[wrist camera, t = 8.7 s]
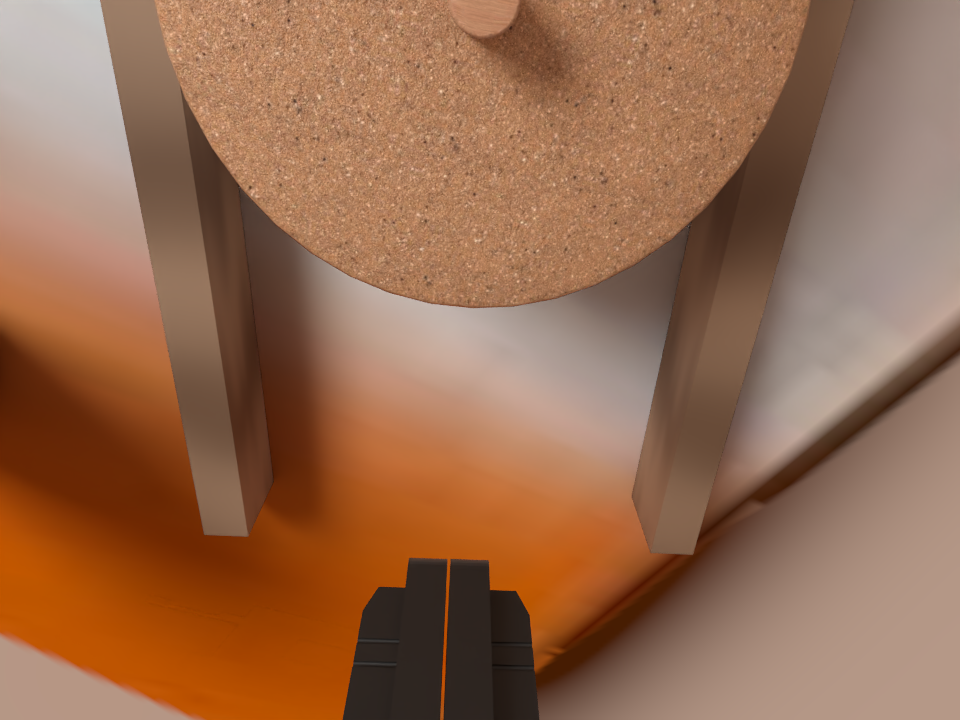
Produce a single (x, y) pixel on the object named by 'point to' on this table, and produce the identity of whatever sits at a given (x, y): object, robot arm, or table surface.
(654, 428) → the channel
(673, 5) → the lidded jar
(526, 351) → the table surface
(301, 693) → the table surface
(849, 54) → the table surface
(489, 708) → the robot arm
